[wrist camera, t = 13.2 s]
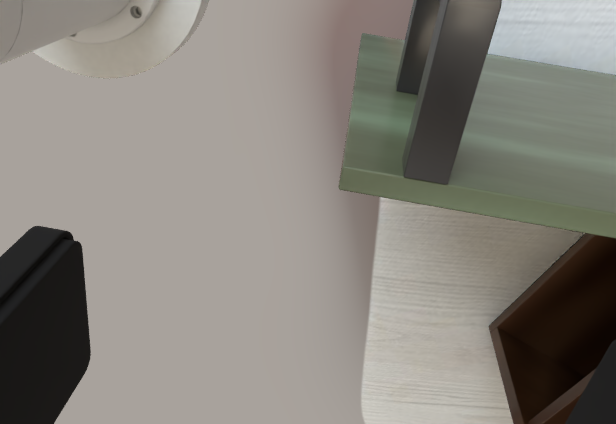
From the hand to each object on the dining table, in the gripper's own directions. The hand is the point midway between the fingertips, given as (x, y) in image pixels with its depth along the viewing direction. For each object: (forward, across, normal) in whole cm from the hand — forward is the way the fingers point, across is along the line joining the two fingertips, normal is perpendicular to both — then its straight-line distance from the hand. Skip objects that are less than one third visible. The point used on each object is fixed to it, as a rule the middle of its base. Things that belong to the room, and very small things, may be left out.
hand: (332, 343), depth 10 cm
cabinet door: (+34, -13, -2) cm, 37 cm away
